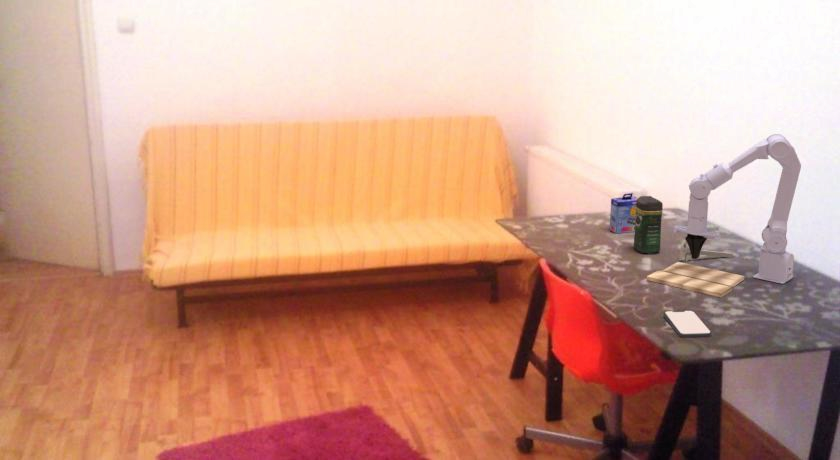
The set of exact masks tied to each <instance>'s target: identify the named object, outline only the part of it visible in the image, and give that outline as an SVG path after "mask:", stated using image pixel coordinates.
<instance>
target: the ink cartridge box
mask: <svg viewBox="0 0 840 460" xmlns="http://www.w3.org/2000/svg"><path fill="white" fill-rule="evenodd" d="M633 194H634V193H633V192H631V193H624V194H623V195H622V197H614V198H611V199H610V215H609V216H610V217H609V219H610V220H609V231H611V232H613V233H614V234H621V233H622V234H624V233H625V234H626V233H635V224H636V201H637V199H638V198H639V197H636V196H633Z"/></svg>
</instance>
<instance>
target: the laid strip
mask: <svg viewBox="0 0 840 460" xmlns="http://www.w3.org/2000/svg"><path fill="white" fill-rule="evenodd" d="M663 270H664V269H663ZM663 270H662V269H658V270H657V271H655V272H652V273H650V274H648V275H647V276H646V281H649V282H654V283H659V284H662V285H665V286H666V285H667V286H671V287H676V288H679V289H683V290H687V291H691V292H696V293H700V294H705V295H709V296H712V297H717V298H722V297H724V296H726V295H727V294H729V293H731V292H732V291H733V290H734V289H733V288H734V287H733V286H730V285H725V284H721V283H716V282H712V281H707V280H703V279H699V278H694V277H690V276H685V275H681V274H676V273H672V272H667V271H663Z"/></svg>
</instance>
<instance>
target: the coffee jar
mask: <svg viewBox="0 0 840 460" xmlns="http://www.w3.org/2000/svg"><path fill="white" fill-rule="evenodd" d="M637 198H638V199H637V201H636V224H635V232H634V237H633V238H634V239H633V248H634V249H635V250H636V251H637V252H639V253H643V254H648V255H649V254H650V255H651V254H652V255H653V254H656V253H660V251H661V238H662V237H661V236H662V232H661V231H662V217H663V209H664V208H663V207H664V205H663V202H662V201H661V200H659V199H657V198H656V197H653V196H652V195H641V196H639V197H637Z"/></svg>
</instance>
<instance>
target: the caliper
mask: <svg viewBox="0 0 840 460" xmlns="http://www.w3.org/2000/svg"><path fill="white" fill-rule="evenodd" d="M700 256H709V257H710V256H711V257H720V258H728V259H729V258H733V257H734V258H735V257H736V258H737V256H736V254H734V253H732V252H724V251H715V250H707V249H706V250H705V249H701V251H700V254H699V257H700ZM690 258H691V252H690V248H689V246H688V243H687V244H686V243H683V246H681V247H680V251H679V259H678V260H679V261H678V262H682V263H683V261H684V263H687V262H688V260H689V259H690Z"/></svg>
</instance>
